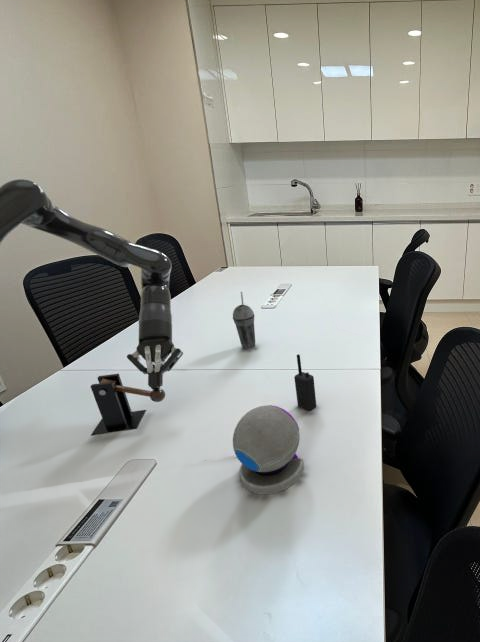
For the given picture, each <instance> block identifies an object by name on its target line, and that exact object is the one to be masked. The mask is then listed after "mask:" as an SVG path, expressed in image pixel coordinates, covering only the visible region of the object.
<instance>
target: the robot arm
mask: <svg viewBox="0 0 480 642" xmlns="http://www.w3.org/2000/svg"><path fill="white" fill-rule="evenodd" d="M19 225H24V226H26V227H30V228H32V229H35V230H38V231H41V232H44V233H47V234H50V235H53V236H56V237H58V238H61V239H63V240H66V241H68V242H70V243H73V244H74V245H77V246H79V247H81V248H82V249H83V248H84V249H85V250H87V251H89V252H91V253H93V254H95V255H96V256H99V257H101V258H103V259H105V260H107V261H108V262H111V263H113V264H115V265H117V266H119V267H121V268H128V267H131V266H134V267H137V268H140V269H141V270H140V280H141V281H140V283H141V284H140V285H141V294H140V309H139V315H138V345H137V346H136V348H135V349H136V350H135V351H134V352H133V353H132V354H131V353H129V354H127V355H126V358H127V359H128V360H129V362H131V363H132V364H133V366H135V367H136V368H137V370H139V372H140V373H142V374H143V375H147V385H148V388H149V387H150V389H151V390H155V389H161V387H162V386H163V385H164V383H163V382H164V381H163V380H164V378H163V377H164V374H165V373H167V372H170V371H171V370H172V369H173V368H174V366H175V365H176V364H177V362H178V361H179V360H180V359H181V358H182V356H184V352H183V351H182V350H181V348H177V347H175V345H174V343H173V313H172V298H171V292H170V277H171V272H172V266H173V265H172V264H173V263H172V261H171V259H170V258H169V257H168V255H166V254H164V253H163V252H162V251H159V250H157V249H154V248H151V247H148V246H145V245H141V244H137V243H133V242H131V241H129V240H127V239H126V238H124V237H122V236H120V235H118V234H116V233H114V232H113V231H110V230H108V229H105V228H103V227H100V226H97V225H94V224H90V223H87V222H84V221H82V220H79V219H77V218H75V217H73V216H71V215H70V214H68V213H66V212H65V211H64V210H62V209H60V207H58V206H56V205H55V204H54V203H53V201H52V200H51V199H50V198H49V197H48V195H47V193H46V192H45V190H44V189H43V188H42V187H41V186H40V185H39V184H37V183H36V182H34V181H32V180H29V179H23V178H22V179H21V178H20V179H13V180H10V181H7V182H5V183H3V184H2V185H0V245H1V244H2V242H3V241H4V239H5V238H6V237H7V236H8V235H9V234H10V233H11V232H12V231H13V230H14V229H16V228H17V227H18V226H19ZM140 356H141V357H140ZM141 358H143V359H144V360H145V365H146V367H145V365H144V364H143V363H142V362H141Z"/></svg>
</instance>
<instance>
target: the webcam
mask: <svg viewBox="0 0 480 642" xmlns="http://www.w3.org/2000/svg"><path fill="white" fill-rule="evenodd" d="M300 435H301V434H300V428H299V425H298V423H297V420H296V419H295V418H294V417H293V415H292V414H291V413H290V412H288V411H287V410H285V409H284V408H282V407H280V406H277V405H272V404H270V405H269V404H268V405H267V404H266V405H260V406H256V407H254V408H252V409H250V410H249V411H247V412H246V413H245V414H243V416H242V417H241V418H240V419H239V421H238V422H237V424H236V426H235V428H234V431H233V435H232V448H233V451H234V455H235V456H236V458H237V460H238V461H239V463H241V465H240V468H239V478H240V483H241V485H242V486H243V487H244V489H246V490H247V491H249V492H251V493H254V494H259V495H270V494H275V493H280V492H282V491H285V490H286V489H288V488H289V487H291V486H293V485H294V484H295V483H296V482H298V480H299V479H300V478H301V476H302V474H303V472H304V466H305V464H304V459H303V458H302V457H299V456H298V455H297V454H296V453H297V451H298V449H299V446H300V439H301V438H300V437H301V436H300Z"/></svg>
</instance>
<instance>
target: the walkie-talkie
mask: <svg viewBox="0 0 480 642" xmlns="http://www.w3.org/2000/svg"><path fill="white" fill-rule="evenodd" d="M301 361H302V360H301V354H296V362H297V371H298V373H297V374H295V375H294V386H295V394H296V403H297V407H298V408H301V409H302V410H305V411H307V412H311V411H312V410H313V409H315V408H317V397H316V388H315V386H316V385H315V379H314V375H312V374H310V372H304V371H303V370H302V362H301Z"/></svg>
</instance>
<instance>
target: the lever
mask: <svg viewBox="0 0 480 642" xmlns="http://www.w3.org/2000/svg"><path fill="white" fill-rule="evenodd" d="M107 382H113V384H114V387H115V390H116V391H120V392H125V394H133V395H138V396H144V397H149V398H150V400H151V401H152V402H155V403H160V402H162V401H163V400H164V399H165V398H166V392H165V390H164V389H162V388H160V389H155V390H153V389H151V390H148V389H141V388H138V387H137V388H136V387H130V386H126V385H123V386H120V385H116V381H113V380H108V379H102V381H101V382H100V383H107Z"/></svg>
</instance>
